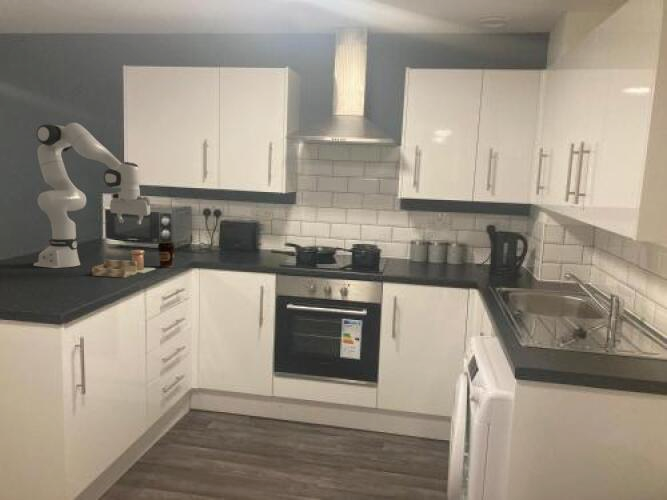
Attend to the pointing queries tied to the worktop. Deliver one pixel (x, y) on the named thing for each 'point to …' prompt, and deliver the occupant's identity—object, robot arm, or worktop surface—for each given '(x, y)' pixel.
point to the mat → (145, 270)
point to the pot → (138, 258)
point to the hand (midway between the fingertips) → (130, 223)
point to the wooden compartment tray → (115, 268)
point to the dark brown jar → (166, 254)
